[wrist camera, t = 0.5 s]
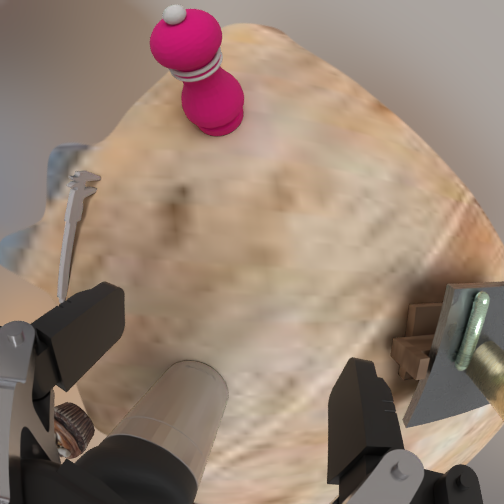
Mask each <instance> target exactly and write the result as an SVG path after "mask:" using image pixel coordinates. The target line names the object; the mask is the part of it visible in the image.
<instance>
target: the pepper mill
mask: <svg viewBox="0 0 504 504" xmlns="http://www.w3.org/2000/svg"><path fill="white" fill-rule="evenodd" d="M221 42H222V31H221V28H220V26H219V24H218V22H217V21H216V19H215V18H214V17H213V16H212V15H210V14H209V13H207V12H205V11H202V10H197V9H184V7H182V6H180V5H171V6H169V7H167V8H166V9H165V10H164V12H163V19H162V20H161V21H160V22H159V23H158V24H157V25H156V26H155V28H154V29H153V32H152V34H151V37H150V49H151V52H152V54H153V56H154V58H155V59H156V60H157V61H158V62H159V63H160V64H161V65H163V66H164V67H167V68H168V69H169V70H170V72H171V74H172V75H173V76H174V77H175V78H176V79H178V80H180V81H183V83H184V86H183V90H182V96H181V98H182V107H183V110H184V112H185V115H186V116H187V118H188V119H189V120H190V121H191V122H192V123H194V124H196V125H197V126H198V127H199V128H200V130H201V131H203V132H204V133H206V134H208V135H211V136H222V135H226V134H228V133H230V132H232V131H234V130H235V129H236V128H237V127H238V126H239V125H240V123H241V121H242V119H243V104H244V94H243V90H242V88H241V86H240V84H239V82H238V81H237V80H236V79H235V78H234V77H233V76H232V75H231V74H230V73H228V72H226V71H225V70H223V69H222V68H221V67H220V65H221V63H222V58H223V56H222V52H221V48H220V45H221Z"/></svg>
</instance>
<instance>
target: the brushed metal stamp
mask: <svg viewBox="0 0 504 504" xmlns="http://www.w3.org/2000/svg"><path fill="white" fill-rule="evenodd" d="M428 357H429V358H430V360H429V364H428V369H427V373H426V377H425V379H421V380H419V383H418V385H417V388H416V390H415V393H414V395H413V398H412V400H411V402H410V405H409V407H408V409H407V411H406V413H405V416H404V418H403V422H404V425H405V427H406V428H408V427H413V426H417V425H422V424H426V423H430V422H434V421H438V420H441V419H445V418H448V417H452V416H455V415H458V414H461V413H465V412H468V411H470V410H473V409H476V408H479V407H482V406H484V405H487V404H491V405H492V406H493V408H494V409H495V410H496V412H497V413H498V414H499V416H500V417H501V418H502V420H503V421H504V282H484V283H458V284H447V286H446V291H445V296H444V300H443V305H442V309H441V313H440V317H439V321H438V325H437V328H436V332H435V335H434V339H433V342H432V345H431V349H430V352H429V355H428Z"/></svg>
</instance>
